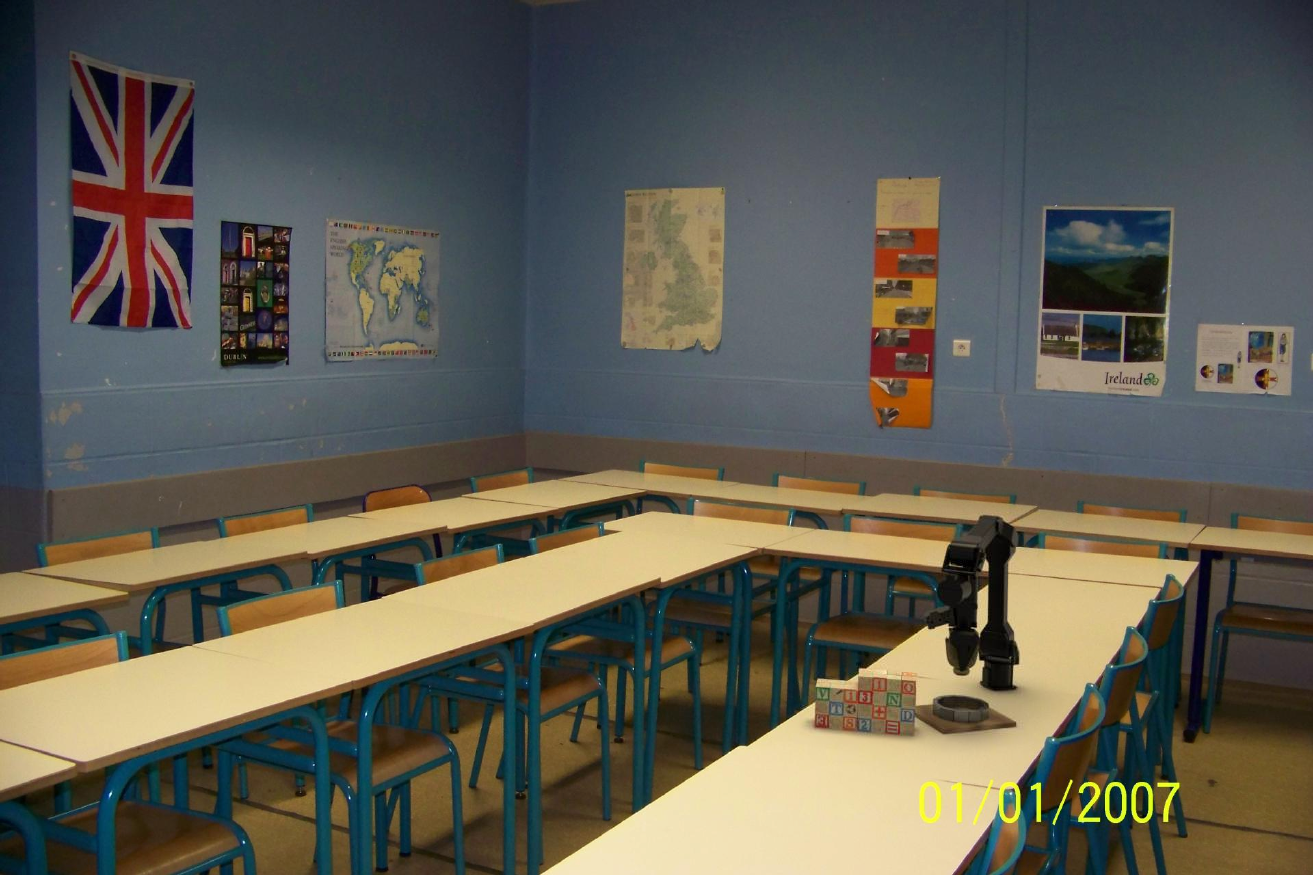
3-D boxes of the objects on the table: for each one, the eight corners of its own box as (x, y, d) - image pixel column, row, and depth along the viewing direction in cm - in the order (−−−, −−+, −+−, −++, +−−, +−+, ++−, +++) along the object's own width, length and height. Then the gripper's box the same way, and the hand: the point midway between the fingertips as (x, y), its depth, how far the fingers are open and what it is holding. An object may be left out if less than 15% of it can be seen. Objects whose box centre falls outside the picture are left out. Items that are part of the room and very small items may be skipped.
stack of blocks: (813, 728, 256) (815, 672, 255) (816, 719, 262) (817, 664, 261) (914, 736, 251) (916, 679, 250) (915, 727, 257) (916, 671, 256)
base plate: (975, 704, 273) (976, 700, 273) (1016, 726, 258) (1016, 721, 258) (906, 710, 268) (906, 706, 268) (943, 733, 252) (943, 729, 252)
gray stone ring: (969, 703, 270) (969, 693, 270) (999, 720, 259) (999, 709, 258) (922, 708, 266) (922, 697, 266) (950, 725, 255) (951, 713, 255)
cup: (975, 670, 265) (976, 635, 264) (981, 679, 258) (982, 643, 257) (941, 668, 266) (942, 634, 265) (946, 678, 259) (947, 642, 258)
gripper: (926, 586, 271) (924, 652, 273) (926, 604, 253) (924, 675, 254) (977, 589, 269) (974, 656, 270) (980, 607, 251) (977, 679, 252)
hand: (961, 666), depth 262 cm, fingers closed on cup, 6 cm apart
